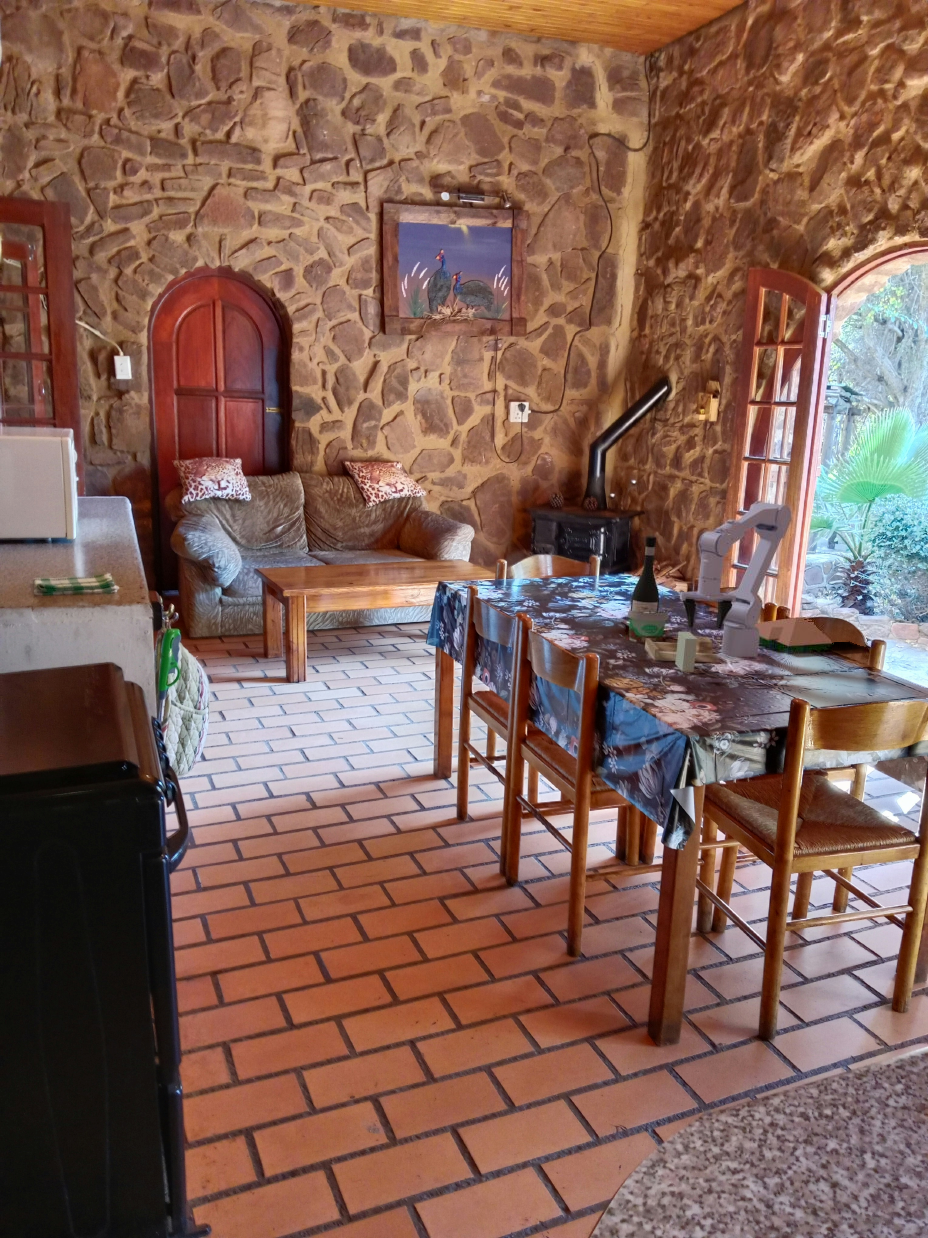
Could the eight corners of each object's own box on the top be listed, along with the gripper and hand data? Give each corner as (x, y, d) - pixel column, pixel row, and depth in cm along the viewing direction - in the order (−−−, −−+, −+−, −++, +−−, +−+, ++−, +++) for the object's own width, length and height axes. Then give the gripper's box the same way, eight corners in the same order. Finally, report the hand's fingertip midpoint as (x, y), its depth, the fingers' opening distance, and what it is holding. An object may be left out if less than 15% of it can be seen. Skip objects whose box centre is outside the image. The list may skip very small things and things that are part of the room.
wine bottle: (655, 641, 290) (665, 539, 283) (627, 639, 292) (636, 537, 285) (655, 635, 298) (665, 535, 291) (628, 632, 300) (637, 533, 292)
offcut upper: (706, 644, 276) (707, 637, 276) (711, 649, 271) (712, 642, 271) (693, 644, 276) (694, 636, 275) (698, 649, 271) (699, 641, 270)
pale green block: (686, 664, 266) (689, 632, 264) (693, 672, 259) (697, 639, 257) (675, 664, 266) (678, 631, 263) (682, 672, 259) (685, 638, 257)
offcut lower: (705, 653, 277) (706, 644, 277) (711, 659, 271) (712, 650, 271) (691, 652, 277) (692, 643, 276) (697, 658, 271) (698, 649, 271)
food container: (633, 648, 282) (636, 614, 279) (624, 643, 288) (627, 609, 285) (673, 647, 285) (676, 613, 283) (663, 642, 291) (666, 608, 288)
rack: (707, 654, 280) (709, 640, 279) (719, 665, 269) (721, 651, 268) (644, 652, 279) (645, 638, 278) (653, 663, 268) (655, 649, 267)
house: (730, 636, 303) (733, 610, 301) (817, 631, 315) (821, 605, 313) (779, 657, 282) (782, 629, 280) (870, 650, 294) (874, 624, 292)
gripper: (687, 579, 259) (681, 629, 263) (742, 581, 260) (735, 632, 263) (680, 573, 266) (674, 623, 269) (733, 576, 267) (727, 625, 270)
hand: (704, 627), depth 267 cm, fingers open, 7 cm apart
